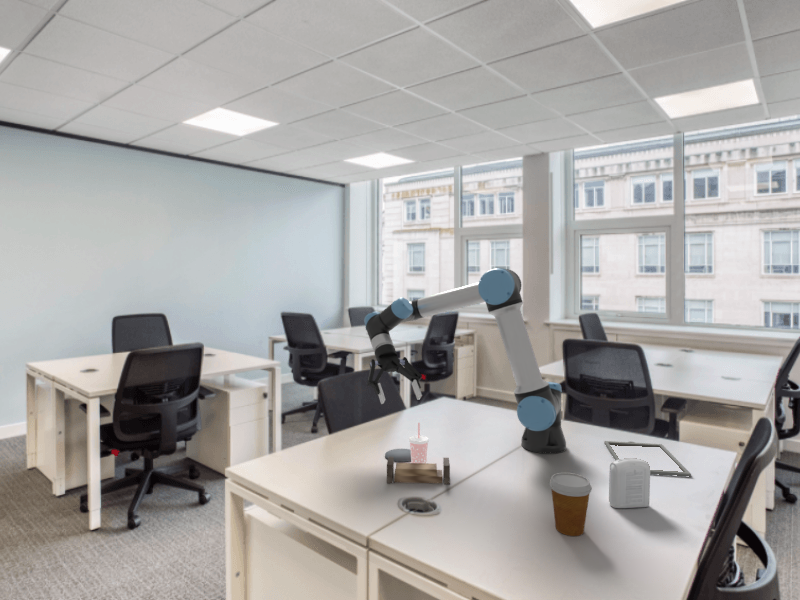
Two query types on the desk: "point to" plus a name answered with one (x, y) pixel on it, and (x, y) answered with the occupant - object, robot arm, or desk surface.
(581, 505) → the disposable coffee cup
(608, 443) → the grey rectangular frame
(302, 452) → the desk surface
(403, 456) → the mat
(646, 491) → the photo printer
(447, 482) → the offcut rack
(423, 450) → the beverage cup
